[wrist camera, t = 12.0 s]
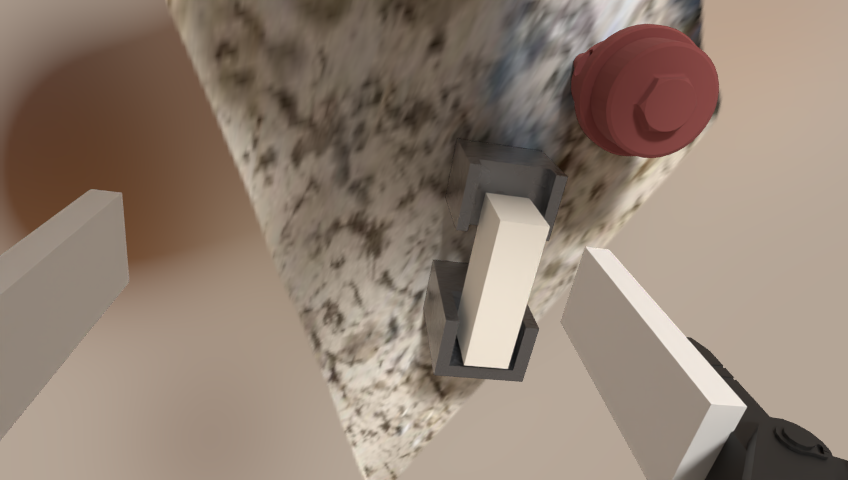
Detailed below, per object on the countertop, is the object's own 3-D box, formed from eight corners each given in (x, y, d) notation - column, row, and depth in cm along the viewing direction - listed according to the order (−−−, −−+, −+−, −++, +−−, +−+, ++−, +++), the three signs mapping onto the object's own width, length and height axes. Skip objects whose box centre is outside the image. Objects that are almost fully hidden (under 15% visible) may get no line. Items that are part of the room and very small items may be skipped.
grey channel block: (456, 138, 49) (470, 163, 43) (541, 150, 51) (567, 176, 44) (445, 197, 52) (456, 229, 45) (526, 207, 53) (548, 240, 46)
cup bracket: (433, 259, 55) (445, 320, 45) (510, 268, 56) (539, 328, 46) (423, 307, 57) (433, 375, 48) (497, 314, 59) (522, 381, 49)
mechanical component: (665, 17, 46) (645, 130, 51) (554, 18, 46) (543, 132, 50) (757, 28, 35) (720, 171, 40) (612, 30, 35) (592, 175, 39)
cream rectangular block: (485, 192, 46) (500, 220, 40) (529, 198, 46) (550, 226, 41) (454, 325, 52) (464, 365, 46) (493, 329, 52) (507, 368, 47)
